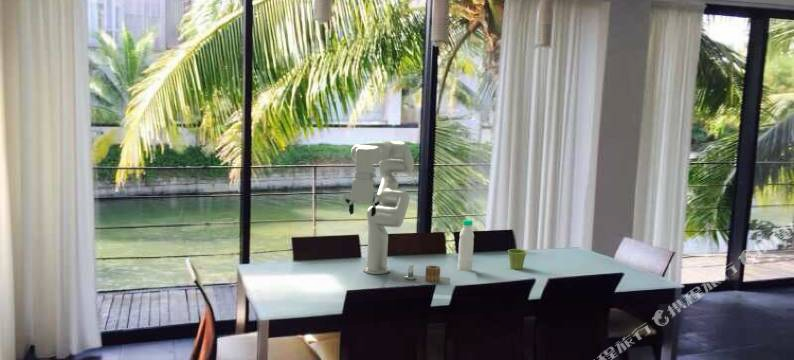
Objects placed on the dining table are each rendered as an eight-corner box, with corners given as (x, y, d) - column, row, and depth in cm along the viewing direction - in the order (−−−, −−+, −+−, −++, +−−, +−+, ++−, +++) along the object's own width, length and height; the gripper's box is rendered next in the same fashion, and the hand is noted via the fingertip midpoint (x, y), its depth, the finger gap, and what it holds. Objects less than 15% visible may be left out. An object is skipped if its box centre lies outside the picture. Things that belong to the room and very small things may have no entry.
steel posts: (405, 276, 304) (405, 262, 303) (435, 278, 303) (436, 264, 302) (404, 279, 299) (404, 265, 298) (434, 281, 298) (435, 267, 297)
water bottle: (474, 270, 327) (477, 220, 323) (468, 273, 321) (471, 222, 317) (461, 267, 330) (464, 218, 327) (454, 270, 324) (457, 220, 321)
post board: (393, 277, 308) (393, 273, 308) (450, 280, 306) (450, 277, 306) (391, 284, 296) (391, 281, 296) (449, 288, 294) (450, 285, 294)
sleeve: (425, 277, 304) (426, 264, 303) (439, 278, 304) (440, 265, 303) (425, 281, 298) (425, 268, 297) (439, 282, 297) (440, 269, 296)
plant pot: (517, 271, 328) (518, 254, 326) (502, 267, 335) (504, 250, 334) (529, 269, 334) (530, 252, 332) (515, 264, 341) (516, 248, 340)
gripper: (385, 176, 289) (383, 215, 292) (347, 173, 293) (345, 211, 296) (380, 178, 282) (379, 218, 285) (341, 175, 286) (340, 214, 288)
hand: (362, 214), depth 290 cm, fingers open, 9 cm apart
